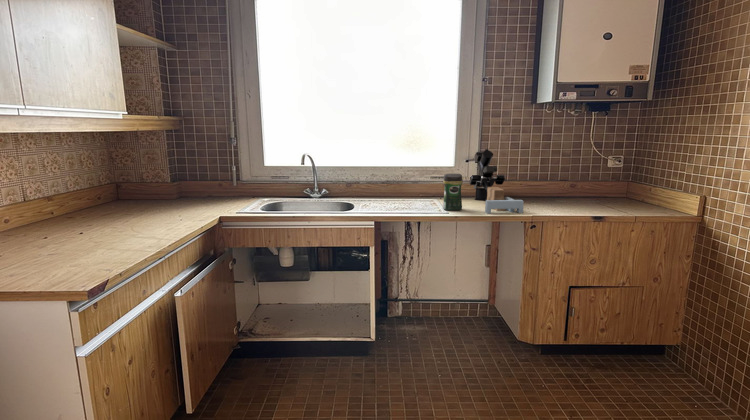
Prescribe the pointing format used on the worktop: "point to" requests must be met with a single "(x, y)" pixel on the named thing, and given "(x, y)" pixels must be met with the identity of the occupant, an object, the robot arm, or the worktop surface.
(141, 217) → the worktop surface
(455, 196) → the coffee jar
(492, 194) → the tan stepped block
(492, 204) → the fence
